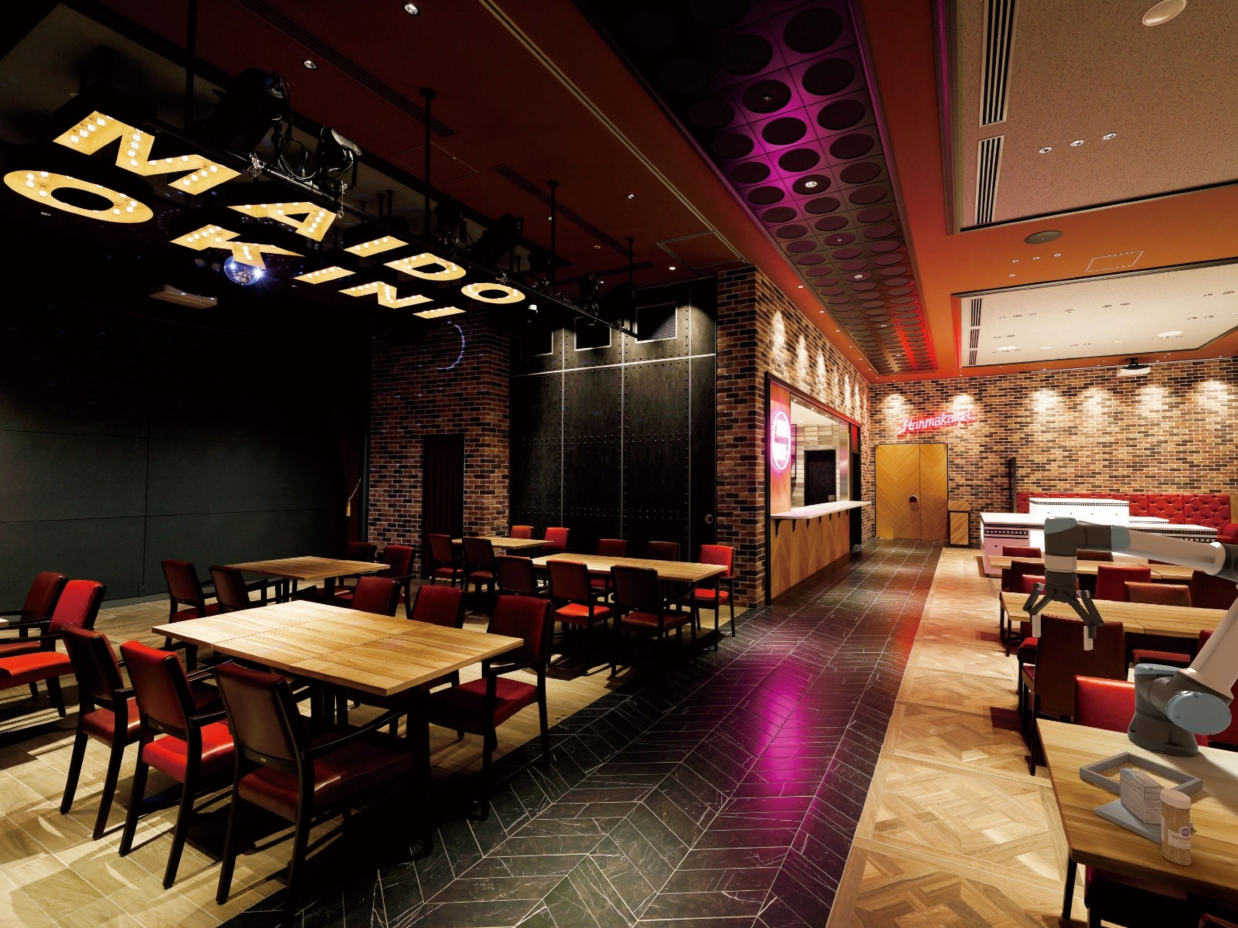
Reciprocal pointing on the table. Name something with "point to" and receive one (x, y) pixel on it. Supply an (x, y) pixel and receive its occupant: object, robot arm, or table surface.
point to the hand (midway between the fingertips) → (1061, 642)
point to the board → (1130, 820)
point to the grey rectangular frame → (1093, 769)
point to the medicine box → (1141, 795)
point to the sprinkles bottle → (1175, 826)
